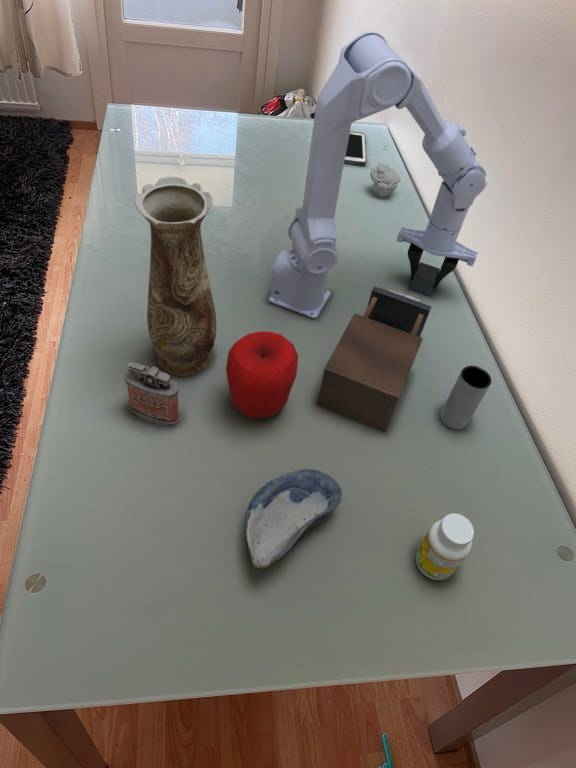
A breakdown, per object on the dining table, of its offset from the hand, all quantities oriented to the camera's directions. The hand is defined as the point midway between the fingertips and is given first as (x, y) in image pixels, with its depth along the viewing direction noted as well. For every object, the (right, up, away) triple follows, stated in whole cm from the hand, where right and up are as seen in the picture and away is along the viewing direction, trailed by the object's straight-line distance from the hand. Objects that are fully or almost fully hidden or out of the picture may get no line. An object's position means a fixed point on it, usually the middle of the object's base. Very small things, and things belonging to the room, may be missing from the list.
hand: (424, 281), depth 113 cm
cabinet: (-14, -20, -17) cm, 30 cm away
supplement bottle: (-7, -43, -35) cm, 56 cm away
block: (0, -1, +1) cm, 1 cm away
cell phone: (-11, +38, +33) cm, 52 cm away
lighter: (-46, -24, -25) cm, 58 cm away
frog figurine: (-5, +23, +21) cm, 32 cm away
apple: (-31, -23, -21) cm, 44 cm away
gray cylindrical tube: (0, -25, -19) cm, 32 cm away
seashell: (-26, -39, -34) cm, 58 cm away
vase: (-43, -15, -17) cm, 49 cm away
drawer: (-9, -12, -11) cm, 18 cm away
